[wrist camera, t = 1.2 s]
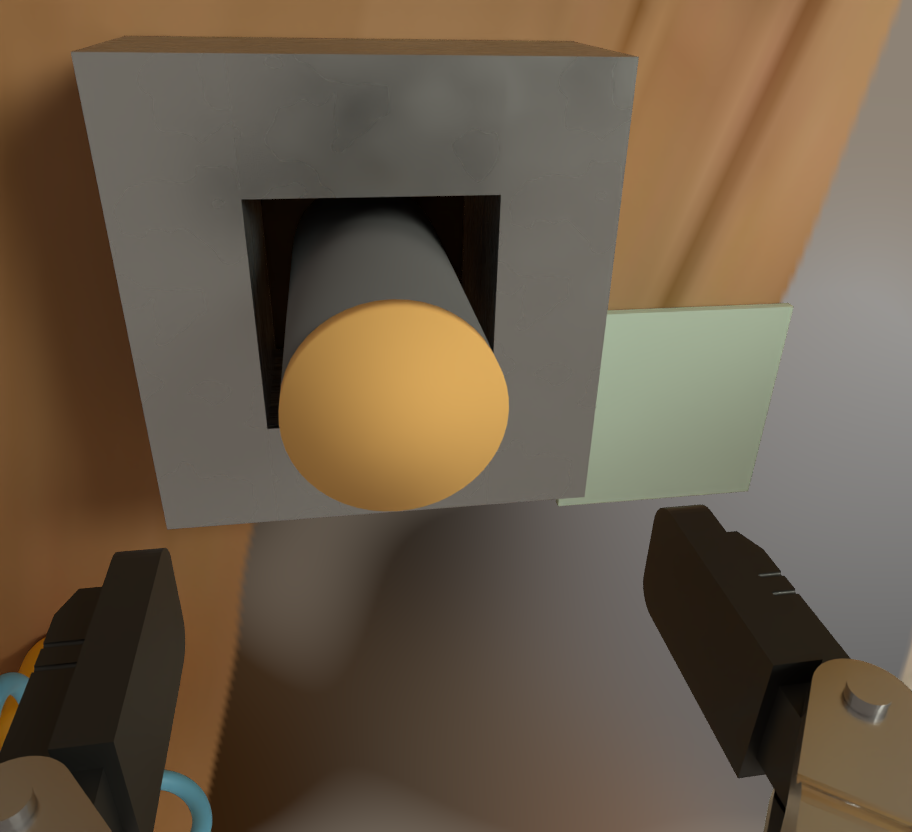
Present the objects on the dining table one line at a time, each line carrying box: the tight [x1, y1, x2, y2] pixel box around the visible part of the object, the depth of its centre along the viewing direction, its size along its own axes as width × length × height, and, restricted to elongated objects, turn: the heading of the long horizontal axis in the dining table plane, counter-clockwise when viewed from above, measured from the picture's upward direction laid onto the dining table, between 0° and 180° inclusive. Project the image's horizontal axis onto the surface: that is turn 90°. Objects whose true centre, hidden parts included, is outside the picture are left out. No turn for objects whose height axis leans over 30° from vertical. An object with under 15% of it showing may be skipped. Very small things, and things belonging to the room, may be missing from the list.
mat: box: [556, 303, 793, 506], centre depth 33 cm, size 9×9×1 cm
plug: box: [278, 196, 509, 511], centre depth 23 cm, size 5×5×12 cm
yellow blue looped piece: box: [0, 637, 212, 832], centre depth 29 cm, size 12×10×15 cm
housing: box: [71, 36, 639, 529], centre depth 25 cm, size 14×14×6 cm
